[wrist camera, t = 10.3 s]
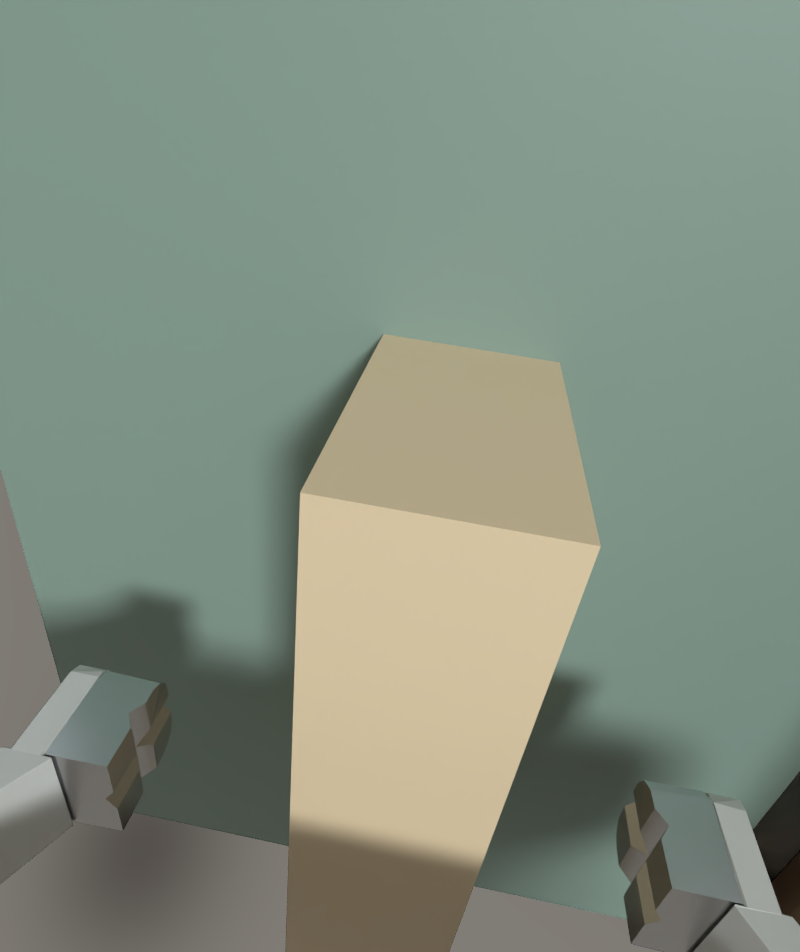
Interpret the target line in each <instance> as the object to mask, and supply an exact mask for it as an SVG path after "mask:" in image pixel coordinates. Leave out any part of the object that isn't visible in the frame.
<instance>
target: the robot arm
mask: <svg viewBox="0 0 800 952" xmlns="http://www.w3.org/2000/svg"><path fill="white" fill-rule="evenodd" d="M168 696H169V695H168V690H167V685H166V683H162V682H158V681H153V680H148V679H144V678H139V677H134V676H130V675H125V674H121V673H116V672H111V671H109V670H104V669H99V668H94V667H89V666H84V665H79V666H78V667H76V668H75V669H74V670H72V671H71V672H70V673H69V674H68V675H67V676H66V678H65V679H64V680H63V682H62V683H61V684H60V685H59V687H58V688H57V689H56V691H55V692H54V693H53V695H52V696H51V697H50V699H49V700H48V701H47V703H46V704H45V705H44V706H43V708H42V709H41V710H40V711H39V713H38V714H37V715H36V717H35V718H34V719H33V720H32V722H31V723H30V724H29V726H28V727H27V728H26V729H25V731H24V732H23V733H22V735H21V736H20V737H19V738H18V740H17V741H16V743H15V744H14V745H13V746H12V748H7V747H1V748H0V884H1V883H3V882H4V881H5V880H6V879H7V878H9V877H10V876H11V875H12V874H14V873H15V872H16V871H17V870H18V869H20V868H21V867H22V866H23V865H25V864H26V863H27V862H28V861H30V860H31V859H32V858H33V857H35V856H36V855H37V854H38V853H39V852H41V851H42V850H43V849H44V848H46V847H47V846H48V845H49V844H50V843H52V842H53V841H54V840H55V839H57V838H58V837H59V836H60V835H61V834H63V833H64V832H65V831H66V830H68V829H69V828H70V827H71V826H73V822H78V823H83V824H88V825H94V826H99V827H104V828H109V829H115V830H120V831H123V830H124V828H125V826H126V824H127V822H128V821H129V818H130V817H131V815H132V813H133V811H134V809H135V807H136V806H137V804H138V802H139V800H140V798H141V796H142V794H143V792H144V791H143V784H142V777H143V776H145V775H146V774H148V773H149V772H150V771H152V770H153V769H155V768H156V767H157V766H158V764H159V762H160V760H161V758H162V756H163V754H164V752H165V749H166V746H167V743H168V740H169V737H170V734H171V726H172V717H171V712H170V711H169V710H168V709H167V707H166V706H165V705H164V703H165V701H166V699H167V698H168ZM633 793H634V799H635V802H633V803H631V804H629V805H626V806H624V808H623V810H622V812H621V814H620V816H619V819H618V826H617V832H616V846H617V856H618V863H619V867H620V868H621V870H622V871H623V872H624V874H625V875H626V877H627V878H628V880H629V881H630V882H631V884H630V885H629V887H628V889H627V891H626V893H625V894H624V896H623V897H624V903H625V909H626V916H627V922H628V928H629V934H630V940H631V944H634V945H638V946H643V947H646V948H650V949H654V950H658V951H662V952H800V925H799V924H798V923H797V922H796V921H795V919H794V918H793V917H791V916H788V915H784V914H782V912H781V909H780V907H779V904H778V901H777V898H776V895H775V892H774V890H773V887H772V884H771V881H770V878H769V875H768V872H767V870H766V867H765V864H764V861H763V858H762V855H761V852H760V850H759V847H758V844H757V841H756V838H755V835H754V833H753V830H752V827H751V824H750V821H749V818H748V815H747V813H746V810H745V807H744V806H743V805H742V803H741V802H740V801H739V800H737V799H735V798H732V797H726V796H721V795H716V794H710V793H705V792H703V791H700V790H694V789H689V788H684V787H678V786H673V785H667V784H662V783H657V782H651V781H646V780H643V781H641V782H638V784H637V786H636V787H635V789H634V790H633Z"/></svg>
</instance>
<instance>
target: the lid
mask: <svg viewBox="0 0 800 952" xmlns="http://www.w3.org/2000/svg"><path fill="white" fill-rule="evenodd" d="M0 468H1V472H2V476H3V479H4V483H5V486H6V490H7V493H8V497H9V501H10V504H11V508H12V511H13V515H14V518H15V522H16V526H17V529H18V533H19V536H20V540H21V543H22V547H23V550H24V554H25V558H26V561H27V565H28V568H29V572H30V575H31V578H32V582H33V586H34V590H35V593H36V597H37V600H38V604H39V607H40V611H41V615H42V618H43V621H44V625H45V629H46V632H47V636H48V639H49V643H50V647H51V650H52V654H53V657H54V661H55V664H56V668H57V671H58V675H59V678H60V682H61V683H62V682H63V680H64V679H65V678H66V676H67V675H68V674H69V673H70V672H71V671H72V670H74V669H75V668H76V667H78V666H79V665H84V666H89V667H94V668H99V669H104V670H109V671H111V672H116V673H121V674H125V675H130V676H134V677H139V678H144V679H148V680H153V681H158V682H162V683H166V685H167V690H168V695H169V696H168V698H167V699H166V701H165V703H164V705H165V706H166V707H167V709H168V710H169V711H170V712H171V717H172V726H171V734H170V737H169V740H168V743H167V746H166V749H165V752H164V754H163V756H162V758H161V760H160V762H159V764H158V766H157V767H156V768H155V769H153V770H152V771H150V772H149V773H148V774H146V775H145V776H143V777H142V784H143V791H144V792H143V794H142V796H141V798H140V800H139V802H138V804H137V806H136V807H135V809H134V811H133V812H135V813H139V814H144V815H149V816H153V817H158V818H162V819H167V820H171V821H176V822H181V823H186V824H190V825H195V826H199V827H204V828H208V829H213V830H218V831H222V832H227V833H232V834H236V835H241V836H246V837H250V838H255V839H260V840H264V841H268V842H273V843H278V844H282V845H287V846H289V859H288V890H287V892H288V893H287V921H286V922H287V923H286V952H449V951H450V948H451V945H452V943H453V940H454V937H455V935H456V932H457V929H458V927H459V924H460V921H461V919H462V916H463V913H464V911H465V908H466V905H467V902H468V900H469V897H470V895H471V892H472V889H473V887H474V886H476V887H481V888H485V889H490V890H495V891H499V892H504V893H509V894H513V895H518V896H523V897H527V898H532V899H536V900H541V901H545V902H550V903H555V904H560V905H564V906H568V907H573V908H578V909H582V910H587V911H592V912H596V913H601V914H605V915H610V916H615V917H619V918H624V919H627V916H626V909H625V903H624V897H623V896H624V894H625V893H626V891H627V889H628V887H629V885H630V884H631V882H630V881H629V880H628V878H627V877H626V875H625V874H624V872H623V871H622V870H621V868H620V867H619V863H618V856H617V846H616V832H617V826H618V819H619V816H620V814H621V812H622V810H623V808H624V806H626V805H629V804H631V803H633V802H635V799H634V793H633V790H634V789H635V787H636V786H637V784H638V782H641V781H643V780H646V781H651V782H657V783H662V784H667V785H673V786H678V787H684V788H689V789H694V790H700V791H703V792H705V793H710V794H716V795H721V796H726V797H732V798H735V799H737V800H739V801H740V802H741V803H742V805H743V806H744V807H745V810H746V813H747V815H748V818H749V821H750V824H751V827H752V830H753V829H754V828H755V826H756V825H757V824H758V823H759V821H760V820H761V819H762V818H763V816H764V815H765V814H766V813H767V811H768V810H769V809H770V808H771V807H772V805H773V804H774V803H775V802H776V800H777V799H778V798H779V797H780V795H781V794H782V793H783V792H784V790H785V789H786V788H787V787H788V785H789V784H790V783H791V782H792V780H793V779H794V778H795V777H796V775H797V774H798V773H799V772H800V0H0Z"/></svg>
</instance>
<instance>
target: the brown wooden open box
mask: <svg viewBox="0 0 800 952" xmlns="http://www.w3.org/2000/svg"><path fill="white" fill-rule="evenodd" d="M771 884H772V887H773V890H774V892H775V895H776V898H777V901H778V904H779V907H780V909H781V912H782V914H784V915H788V916H791V917H793V918H794V919H795V921H796V922H797V923H798V924H799V925H800V852H799V853H798V854H797V855H796V856H795V857H794V858H793V860H792V861H791V862H790V863H789V864H788V865H787V866H786V867H785V868H784V869H783V870H782V872H781V873H780V874H779V875H778V876H777V877H776V878H775V879H774V880H773V881H772V882H771Z"/></svg>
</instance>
